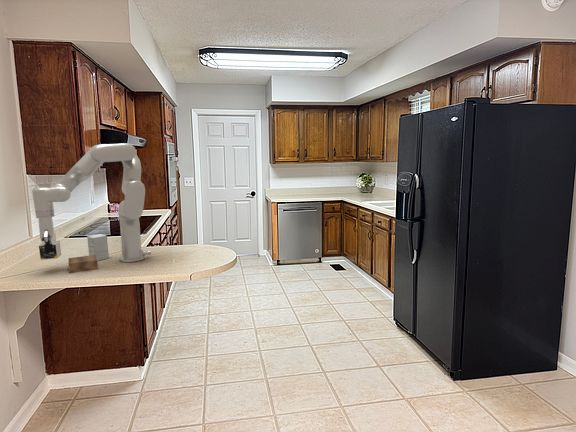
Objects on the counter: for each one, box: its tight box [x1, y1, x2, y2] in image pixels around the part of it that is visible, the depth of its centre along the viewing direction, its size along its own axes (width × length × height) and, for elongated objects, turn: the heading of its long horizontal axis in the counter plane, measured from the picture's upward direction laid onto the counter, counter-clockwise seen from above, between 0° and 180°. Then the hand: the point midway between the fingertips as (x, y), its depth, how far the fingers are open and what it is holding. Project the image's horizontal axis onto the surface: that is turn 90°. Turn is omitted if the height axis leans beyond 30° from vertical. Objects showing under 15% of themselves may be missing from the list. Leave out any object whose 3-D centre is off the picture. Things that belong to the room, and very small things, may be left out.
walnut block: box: [68, 255, 99, 274], centre depth 197 cm, size 12×12×5 cm
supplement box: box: [86, 233, 110, 262], centre depth 214 cm, size 7×7×13 cm
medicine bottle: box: [38, 231, 62, 261], centre depth 191 cm, size 7×7×12 cm
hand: (50, 250), depth 191 cm, fingers closed on medicine bottle, 7 cm apart
